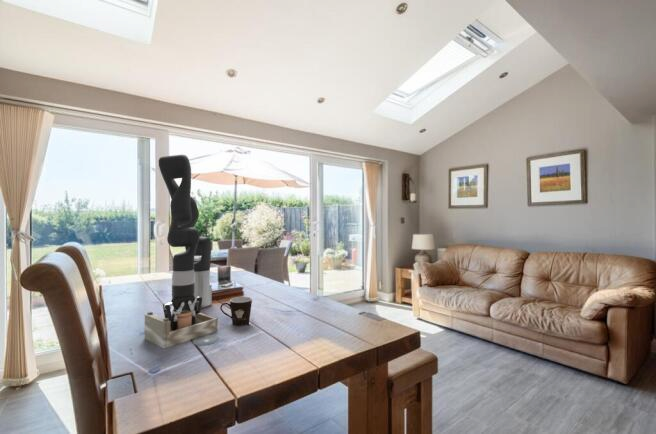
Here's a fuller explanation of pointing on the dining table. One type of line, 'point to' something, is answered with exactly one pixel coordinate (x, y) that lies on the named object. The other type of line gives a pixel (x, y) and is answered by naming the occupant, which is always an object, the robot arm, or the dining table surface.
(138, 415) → the dining table surface
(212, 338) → the saucer
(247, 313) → the coffee mug
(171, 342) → the wooden box
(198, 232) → the robot arm
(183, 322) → the pot
